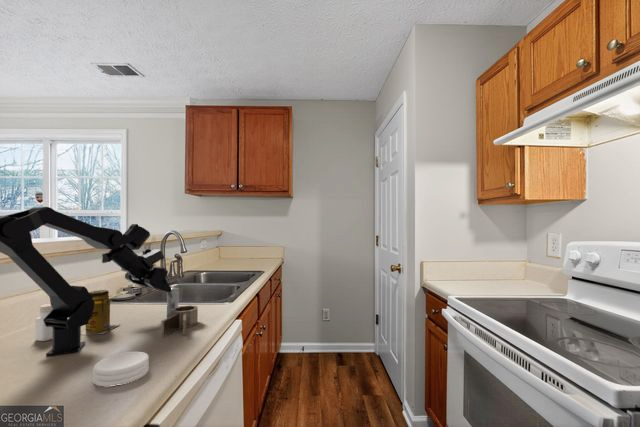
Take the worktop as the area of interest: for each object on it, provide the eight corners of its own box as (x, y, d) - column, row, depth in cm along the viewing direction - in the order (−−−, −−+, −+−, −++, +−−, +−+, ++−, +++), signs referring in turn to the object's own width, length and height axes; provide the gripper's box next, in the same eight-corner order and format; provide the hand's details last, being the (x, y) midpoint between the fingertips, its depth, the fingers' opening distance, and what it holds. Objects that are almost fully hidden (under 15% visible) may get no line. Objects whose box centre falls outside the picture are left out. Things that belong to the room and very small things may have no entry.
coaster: (80, 389, 61) (80, 371, 61) (114, 366, 71) (114, 350, 71) (131, 388, 61) (131, 370, 61) (157, 365, 71) (157, 350, 71)
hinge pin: (178, 318, 107) (178, 289, 107) (166, 319, 105) (166, 290, 106) (178, 315, 110) (178, 287, 110) (167, 316, 109) (167, 288, 109)
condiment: (77, 335, 91) (78, 294, 91) (97, 325, 99) (98, 288, 100) (103, 334, 91) (103, 293, 92) (120, 325, 100) (121, 287, 100)
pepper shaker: (42, 342, 85) (43, 307, 86) (34, 340, 87) (35, 306, 87) (59, 337, 89) (60, 304, 89) (50, 335, 90) (51, 303, 91)
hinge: (198, 333, 91) (198, 316, 91) (160, 339, 87) (160, 321, 87) (197, 319, 105) (197, 304, 105) (164, 323, 101) (164, 307, 101)
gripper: (161, 242, 96) (194, 273, 105) (135, 240, 107) (166, 268, 116) (134, 271, 90) (171, 301, 98) (109, 266, 101) (144, 293, 109)
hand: (163, 289), depth 106 cm, fingers open, 9 cm apart
